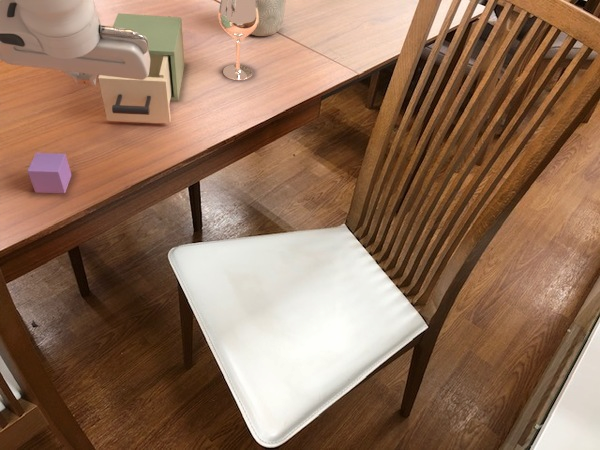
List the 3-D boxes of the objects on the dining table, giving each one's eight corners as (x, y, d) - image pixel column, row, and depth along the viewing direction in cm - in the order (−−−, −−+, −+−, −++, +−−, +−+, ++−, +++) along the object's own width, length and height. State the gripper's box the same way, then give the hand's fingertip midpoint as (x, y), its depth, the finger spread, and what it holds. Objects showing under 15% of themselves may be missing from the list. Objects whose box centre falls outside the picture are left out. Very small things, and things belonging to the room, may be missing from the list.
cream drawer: (167, 139, 91) (162, 96, 85) (101, 136, 90) (91, 93, 84) (177, 85, 104) (173, 44, 98) (119, 82, 103) (112, 41, 96)
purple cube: (35, 192, 80) (27, 170, 77) (43, 174, 83) (35, 152, 80) (65, 193, 81) (58, 171, 77) (71, 175, 84) (65, 153, 80)
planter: (230, 37, 123) (230, -9, 115) (238, 15, 131) (238, -29, 124) (281, 43, 123) (284, -2, 115) (285, 21, 132) (289, -23, 124)
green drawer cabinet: (178, 101, 102) (174, 51, 94) (113, 98, 100) (103, 47, 92) (184, 64, 112) (181, 17, 104) (125, 61, 110) (118, 13, 103)
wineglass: (241, 60, 116) (243, -22, 103) (263, 76, 112) (268, -8, 99) (211, 69, 111) (209, -15, 98) (233, 86, 107) (234, 1, 95)
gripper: (148, 13, 68) (157, 71, 81) (-17, -10, 65) (20, 54, 78) (143, 53, 66) (153, 105, 79) (-27, 32, 63) (12, 90, 76)
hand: (86, 80), depth 79 cm, fingers closed
